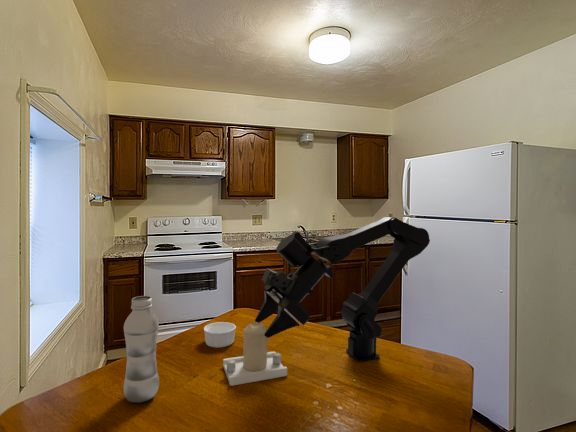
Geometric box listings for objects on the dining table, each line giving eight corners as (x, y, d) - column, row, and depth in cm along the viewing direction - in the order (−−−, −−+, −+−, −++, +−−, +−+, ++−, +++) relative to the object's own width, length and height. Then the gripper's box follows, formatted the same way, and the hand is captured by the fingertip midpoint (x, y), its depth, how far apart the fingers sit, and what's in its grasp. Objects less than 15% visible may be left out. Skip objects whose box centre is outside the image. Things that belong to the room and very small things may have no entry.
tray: (274, 358, 83) (274, 346, 83) (287, 375, 75) (287, 362, 75) (223, 366, 79) (223, 354, 78) (230, 385, 70) (230, 372, 70)
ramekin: (196, 343, 91) (197, 328, 91) (219, 333, 99) (219, 319, 99) (220, 351, 86) (220, 335, 86) (242, 340, 94) (242, 325, 94)
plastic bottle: (136, 412, 61) (137, 305, 60) (116, 400, 64) (116, 299, 64) (166, 395, 66) (166, 297, 66) (145, 385, 70) (146, 292, 69)
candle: (241, 371, 74) (241, 327, 74) (245, 360, 80) (245, 319, 79) (265, 372, 74) (266, 328, 74) (267, 361, 80) (268, 320, 79)
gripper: (271, 251, 87) (230, 296, 84) (296, 263, 69) (244, 321, 66) (299, 278, 90) (260, 323, 86) (329, 297, 72) (281, 354, 69)
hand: (260, 328), depth 77 cm, fingers open, 9 cm apart
